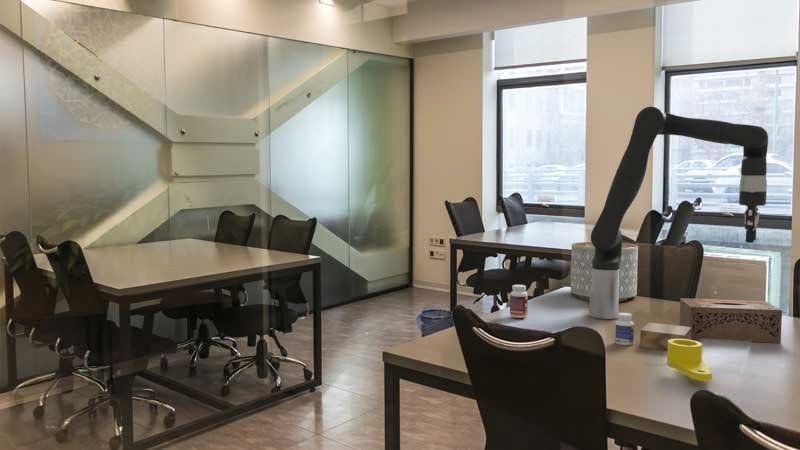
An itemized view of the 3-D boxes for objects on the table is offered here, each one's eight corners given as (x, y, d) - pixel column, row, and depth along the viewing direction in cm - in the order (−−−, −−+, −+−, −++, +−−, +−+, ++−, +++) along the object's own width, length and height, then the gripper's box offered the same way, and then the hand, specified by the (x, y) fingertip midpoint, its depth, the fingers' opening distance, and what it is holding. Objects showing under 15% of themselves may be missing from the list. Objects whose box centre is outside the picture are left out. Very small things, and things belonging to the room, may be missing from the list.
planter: (573, 304, 255) (574, 247, 254) (567, 293, 280) (568, 241, 279) (642, 307, 251) (643, 249, 249) (630, 295, 276) (631, 242, 274)
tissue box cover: (689, 338, 203) (690, 306, 202) (679, 328, 217) (680, 298, 216) (780, 343, 198) (782, 310, 197) (764, 331, 212) (765, 301, 211)
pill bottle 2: (634, 346, 193) (635, 316, 192) (616, 345, 194) (616, 315, 194) (632, 341, 198) (632, 312, 198) (613, 340, 199) (614, 311, 199)
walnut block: (640, 347, 192) (640, 330, 192) (648, 338, 202) (649, 322, 202) (684, 352, 186) (684, 335, 185) (690, 343, 196) (691, 327, 195)
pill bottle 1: (528, 318, 231) (529, 287, 230) (510, 318, 231) (511, 287, 230) (526, 314, 237) (526, 284, 236) (508, 314, 237) (509, 284, 236)
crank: (662, 360, 179) (663, 338, 179) (694, 360, 179) (695, 339, 178) (687, 380, 161) (687, 356, 161) (722, 381, 161) (723, 357, 160)
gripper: (741, 189, 215) (739, 239, 216) (737, 190, 203) (735, 242, 204) (767, 189, 211) (765, 240, 212) (765, 190, 199) (762, 244, 200)
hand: (750, 241), depth 208 cm, fingers open, 8 cm apart
